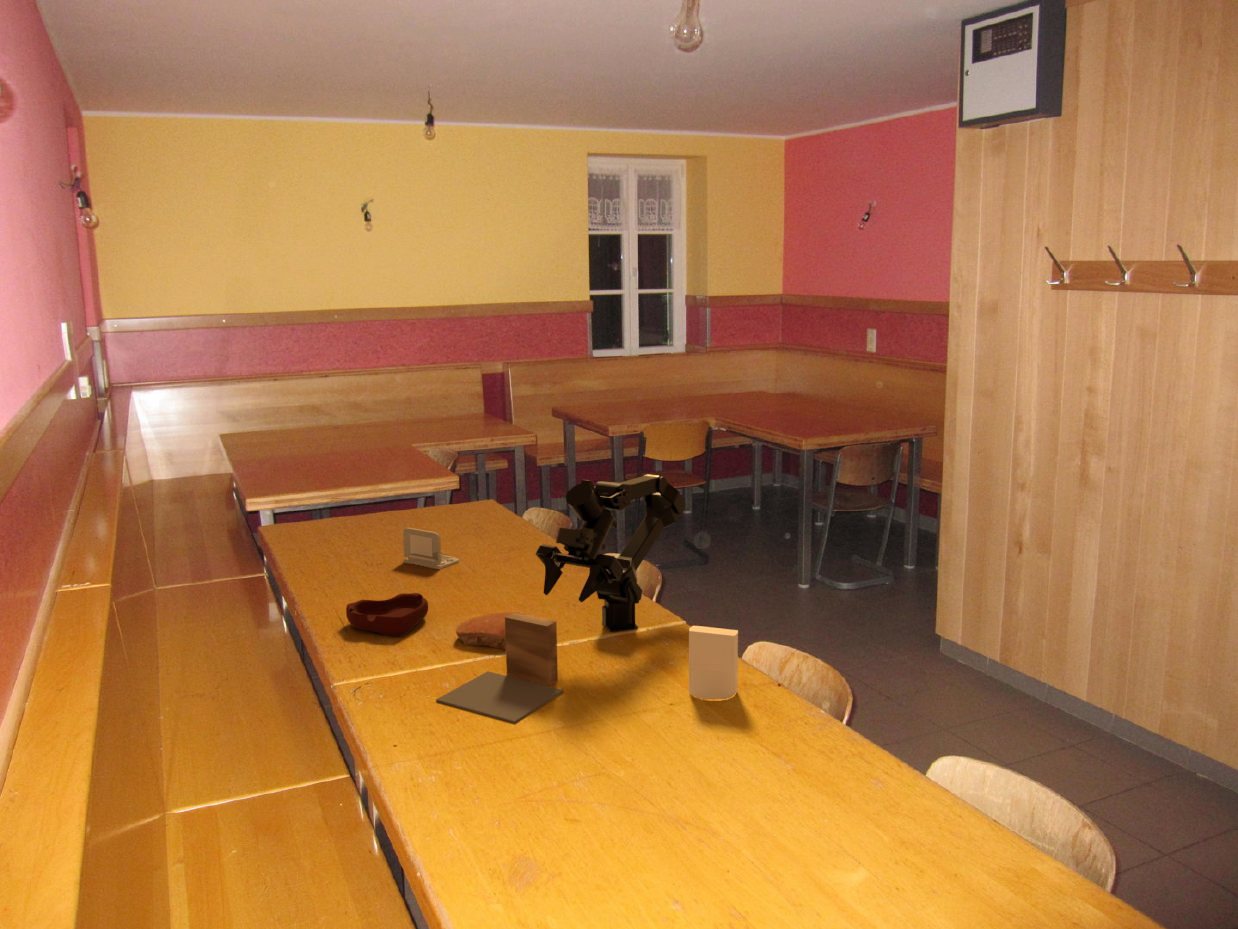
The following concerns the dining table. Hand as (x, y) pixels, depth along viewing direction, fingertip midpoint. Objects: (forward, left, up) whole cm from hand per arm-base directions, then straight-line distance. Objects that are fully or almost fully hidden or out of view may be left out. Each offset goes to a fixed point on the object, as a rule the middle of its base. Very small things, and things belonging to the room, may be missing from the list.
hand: (562, 597), depth 195 cm
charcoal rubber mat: (+16, +14, -13) cm, 25 cm away
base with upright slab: (-22, +25, -13) cm, 36 cm away
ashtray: (+31, -31, -13) cm, 46 cm away
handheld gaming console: (+15, -80, -13) cm, 82 cm away
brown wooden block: (+9, +8, -13) cm, 17 cm away
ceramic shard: (+11, -17, -13) cm, 24 cm away
